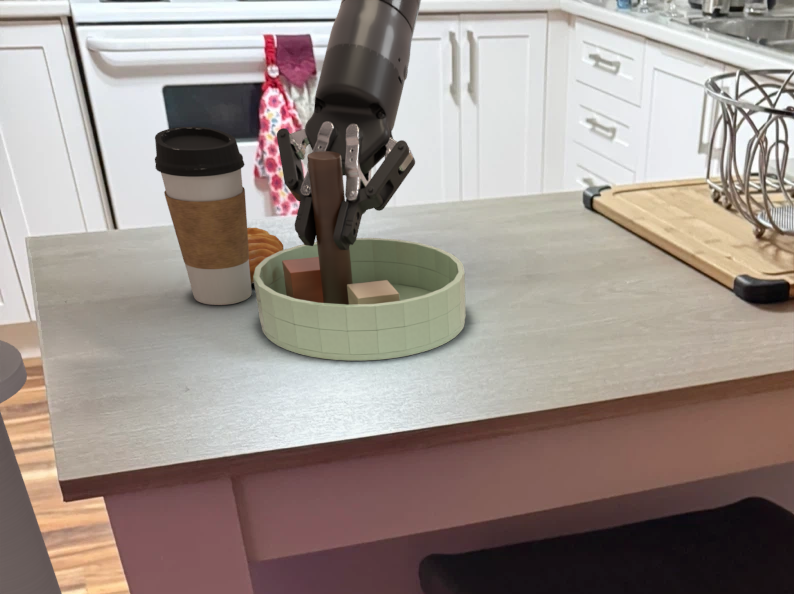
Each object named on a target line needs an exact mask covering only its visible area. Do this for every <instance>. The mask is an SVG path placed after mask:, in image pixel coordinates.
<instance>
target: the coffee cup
mask: <svg viewBox="0 0 794 594" xmlns="http://www.w3.org/2000/svg"><path fill="white" fill-rule="evenodd" d="M154 141H155V154H156V156H155V158H154V164H155V165H154V166H155V169H156V171H157V172H159V173H160V174H161V178H162V182H163V186H164V189H165V190H164V192H163V193H164V194H163V195H164V197H165V200H166V204H167V208H168V211H169V214H170V218H171V222H172V225H173V228H174V232H175V235H176V239H177V242H178V243H177V244H178V247H179V249H180V253H181V257H182V260H183V263H184V265H185V269H186V274H187V276H188V277H187V278H188V280H189V284H190V287H191V292H192V296H193V299H194V300H195V301H197V302H198V303H201V304H204V305H211V306H226V305H233V304H238V303H241V302H244V301H246V300H248V299H250V297H251V296H252V294H253V293H252V284H251V279H250V268H249V249H248V233H247V228H248V219H247V202H246V201H247V200H246V189H245V187H244V186H243V178H242V177H243V175H242V168H244V167H245V165H246V164H245V161H244V156H243V154H242V153H241V152H240V149H239V146H238V143H237V139H236V138H235V137H234V136H233V135H231V134H230V133H227V132H225V131H222V130H220V129H216V128H213V127H212V128H211V127H206V126H177V127H171V128H167V129H164V130H160V131H159V132H157V134H155V136H154Z"/></svg>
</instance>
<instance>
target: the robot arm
mask: <svg viewBox="0 0 794 594" xmlns="http://www.w3.org/2000/svg"><path fill="white" fill-rule="evenodd" d="M421 1H422V0H340V5H339V9H338V12H337V14H336V16H335V20H334V22H333V24H332V26H331V30H330V33H329V38H328V41H327V46H326V50H325V53H324V58H323V62H322V66H321V71H320V75H319V79H318V82H317V86H316V90H315V94H314V95H315V96H314V110H313V113H312V114H311V116H310V117H309V118H308V120H307V122H306V123H305V125H304V128H303V129H300V130H297V131H294V132H291V133H290V131H289V130H288V129H287V128H285V127H283V128H280V129H279V130H277V133H276V140H277V145H278V151H279V158H280V164H281V169H282V176H283V181H284V185H285V186H286V187H287V189H288V190H289V192H290V193H291V194H292V196H293V197H294V199H295V200H296V201H297V202H299V204H298V208H297V214H296V217H295V221H294V231H295V232H296V233H297V237H298V239H299V240H300V241H301V242H302V244H304V245H307V246H313V245H314V242H316V230H315V221H314V212H313V203H312V194H311V185H310V176H309V167H308V162H307V164H306V168H307V169H306V170H307V172H306V175H305V174H304V169H303V164H302V162H303V161H302V160H305V158H306V149H307V147H308V146H309V145H310V148H311V150H312V152H311V153H313V152H320V151H330V152H336V153H339V154H340V155H341V162H342V173H343V177H344V176H345V190H344V194H345V201H342V202H341V206H340V210H339V214H338V218H337V222H336V226H335V231H334V235H333V239H334V242H335V243H336V245H337V246H338V248H339V249H340V250H348V249H349V246H350V245H353V244H354V242H355V241H356V238H358V233H359V230H360V224H361V222H362V218H363V215H364V214H365V213H367V211H368V210H369V211H370V210H372V209H374V210H375V211H377V212H380V211H383V210H384V209H385V208H386V206H388V204H389V202H390V200H391V199H392V198H393V197H394V195H395V193H396V192H397V191H398V189H399V188H400V186H401V185H402V183H404V181H405V179H406V178H407V177H408V175H409V174H410V172H411V171H412V169H413V168H414V166H415V165H416V159H415V157H414V155H413V152H412V150H411V148H410V147H409V145H408V142H407V141H406V140H404V139H403V140H402V139H401V140H398V141H397V140H396V139H394V137H393V133H392V131H393V130H394V127H395V123H396V120H397V115H398V111H399V106H400V102H401V98H402V96H403V95H402V94H403V90H404V85H405V81H406V80H407V78H408V73H409V65H410V59H411V49H412V42H413V37H414V32H415V30H416V29H415V28H416V24H417V20H418V16H419V12H420V7H421V4H422V3H421ZM383 159H384V160H383ZM381 160H383V161H382V163H381V164H380V165H379V167H378V168H377V169H376V171H375V173H374V174H373V176H372V169H373V168H374V167H375V166H376V165H377V164H378V163H379V162H380V161H381Z"/></svg>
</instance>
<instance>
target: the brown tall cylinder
mask: <svg viewBox="0 0 794 594" xmlns="http://www.w3.org/2000/svg"><path fill="white" fill-rule="evenodd" d="M306 157H307V163H308V167H309V176H310V185H311V194H312V203H313V212H314V221H315V230H316V238H315V240H316V242H317V248H318V257H319V266H320V275H321V284H322V293H323V302H324V303H330V304H345V305H349V300H348V290H347V285H348V284H353V281H352V270H351V260H350V249H348V250H340V249H339V248H338V246H337V245H336V243H335V242H334V239H333V235H334V231H335V226H336V222H337V218H338V214H339V210H340V206H341V202H342V201H346V196H345V185H344V176H343V173H342V162H341V155H340V154H339V153H336V152H330V151H320V152H313V153H312V152H311V153H308V154H307V155H306Z"/></svg>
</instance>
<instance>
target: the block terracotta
mask: <svg viewBox="0 0 794 594" xmlns="http://www.w3.org/2000/svg"><path fill="white" fill-rule="evenodd" d="M282 265H283V272H284V279H285V287H286V294H287V296H289V297H292V298H295V299H300V300H306V301H312V302H317V303H324V302H323V293H322V284H321V275H320V266H319V257H312V258H302V259H292V260H283V261H282Z"/></svg>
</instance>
